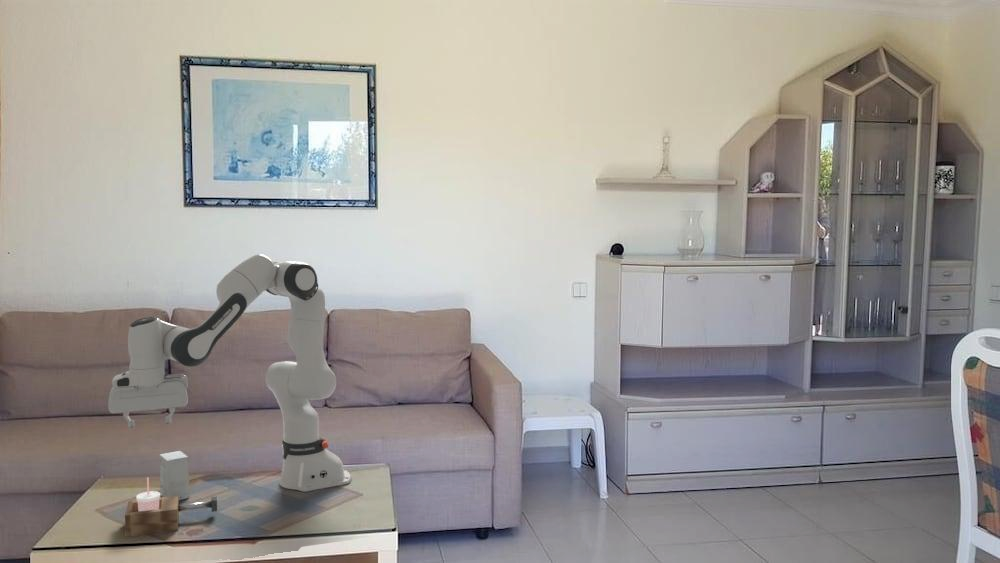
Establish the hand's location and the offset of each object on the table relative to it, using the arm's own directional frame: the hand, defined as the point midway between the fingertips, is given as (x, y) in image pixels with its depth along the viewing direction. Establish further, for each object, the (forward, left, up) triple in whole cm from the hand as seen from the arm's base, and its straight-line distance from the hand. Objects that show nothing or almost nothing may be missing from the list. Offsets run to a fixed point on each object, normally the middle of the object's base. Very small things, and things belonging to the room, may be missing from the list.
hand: (150, 425), depth 219 cm
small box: (-5, -19, -28) cm, 34 cm away
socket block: (0, +3, -28) cm, 28 cm away
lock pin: (-11, +1, -26) cm, 28 cm away
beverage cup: (+1, +3, -28) cm, 28 cm away
